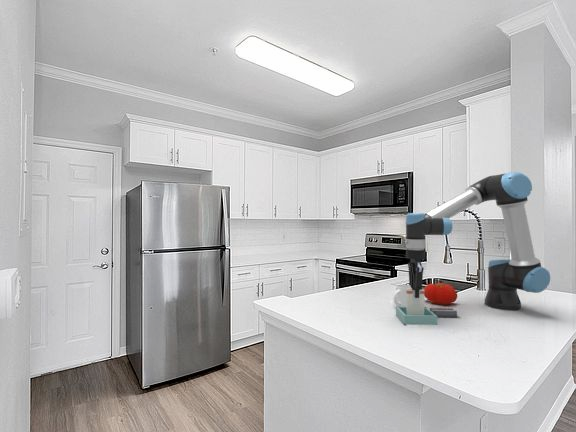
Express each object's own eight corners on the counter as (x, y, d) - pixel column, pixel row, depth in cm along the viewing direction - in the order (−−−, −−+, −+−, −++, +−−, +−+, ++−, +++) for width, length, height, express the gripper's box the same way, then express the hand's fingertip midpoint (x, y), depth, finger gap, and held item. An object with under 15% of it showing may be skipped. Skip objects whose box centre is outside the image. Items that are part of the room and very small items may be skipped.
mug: (400, 311, 150) (400, 289, 150) (387, 307, 157) (387, 286, 157) (417, 308, 156) (417, 286, 156) (404, 304, 163) (403, 283, 163)
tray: (425, 316, 143) (425, 307, 143) (437, 326, 130) (437, 316, 130) (395, 315, 144) (395, 306, 144) (404, 325, 131) (404, 315, 131)
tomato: (438, 298, 174) (438, 280, 174) (463, 306, 159) (463, 286, 159) (416, 300, 170) (416, 282, 170) (440, 309, 154) (440, 288, 154)
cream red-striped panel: (423, 314, 138) (423, 288, 138) (424, 315, 136) (424, 289, 136) (406, 313, 138) (406, 288, 138) (407, 314, 137) (407, 288, 137)
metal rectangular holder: (453, 314, 146) (453, 306, 146) (461, 319, 138) (461, 311, 138) (426, 313, 147) (426, 306, 147) (432, 319, 139) (432, 311, 139)
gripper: (401, 247, 145) (401, 300, 145) (411, 250, 130) (411, 309, 130) (418, 247, 144) (418, 300, 144) (430, 251, 130) (430, 309, 130)
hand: (415, 304), depth 137 cm, fingers closed on cream red-striped panel, 1 cm apart
